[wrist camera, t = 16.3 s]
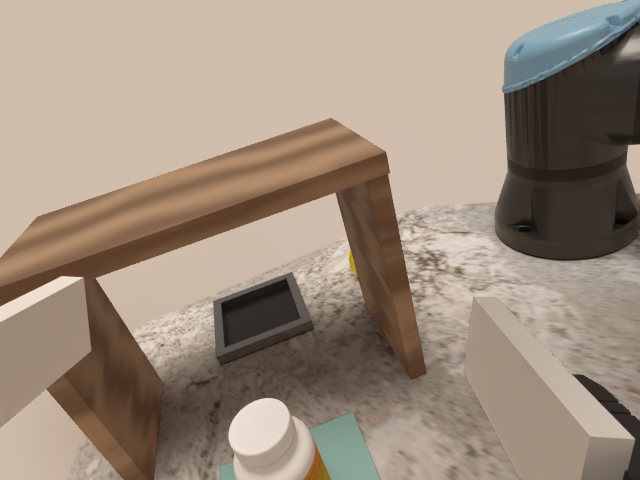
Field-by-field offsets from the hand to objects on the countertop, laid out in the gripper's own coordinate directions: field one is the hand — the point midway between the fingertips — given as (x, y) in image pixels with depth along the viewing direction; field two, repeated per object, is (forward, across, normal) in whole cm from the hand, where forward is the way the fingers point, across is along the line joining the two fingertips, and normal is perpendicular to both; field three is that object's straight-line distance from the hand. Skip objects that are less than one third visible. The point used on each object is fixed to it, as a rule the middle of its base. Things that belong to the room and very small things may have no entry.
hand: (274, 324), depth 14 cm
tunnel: (+24, -4, -18) cm, 30 cm away
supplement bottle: (+12, 0, -20) cm, 23 cm away
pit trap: (+34, -7, -16) cm, 38 cm away
